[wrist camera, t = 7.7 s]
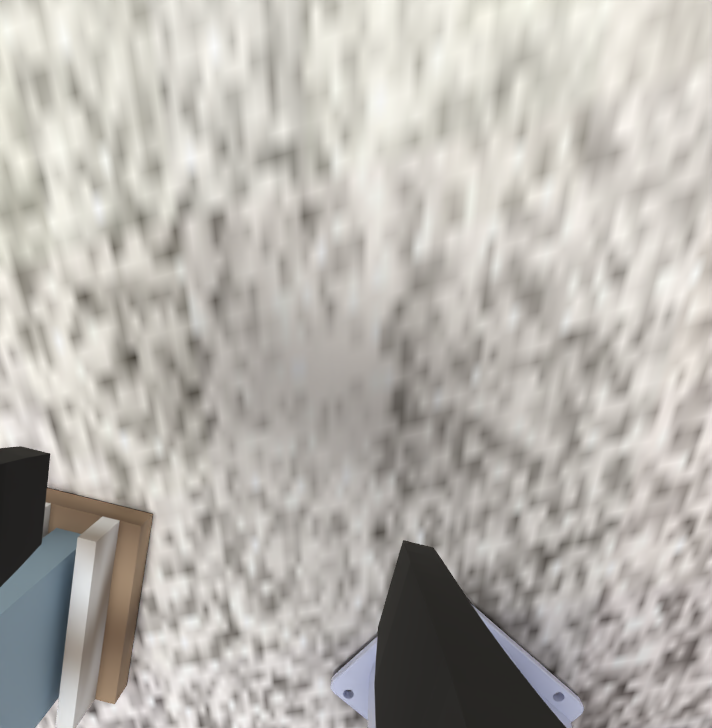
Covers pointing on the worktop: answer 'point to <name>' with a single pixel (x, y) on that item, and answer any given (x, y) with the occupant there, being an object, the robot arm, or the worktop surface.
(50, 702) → the door panel
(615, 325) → the worktop surface
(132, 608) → the bottom track
